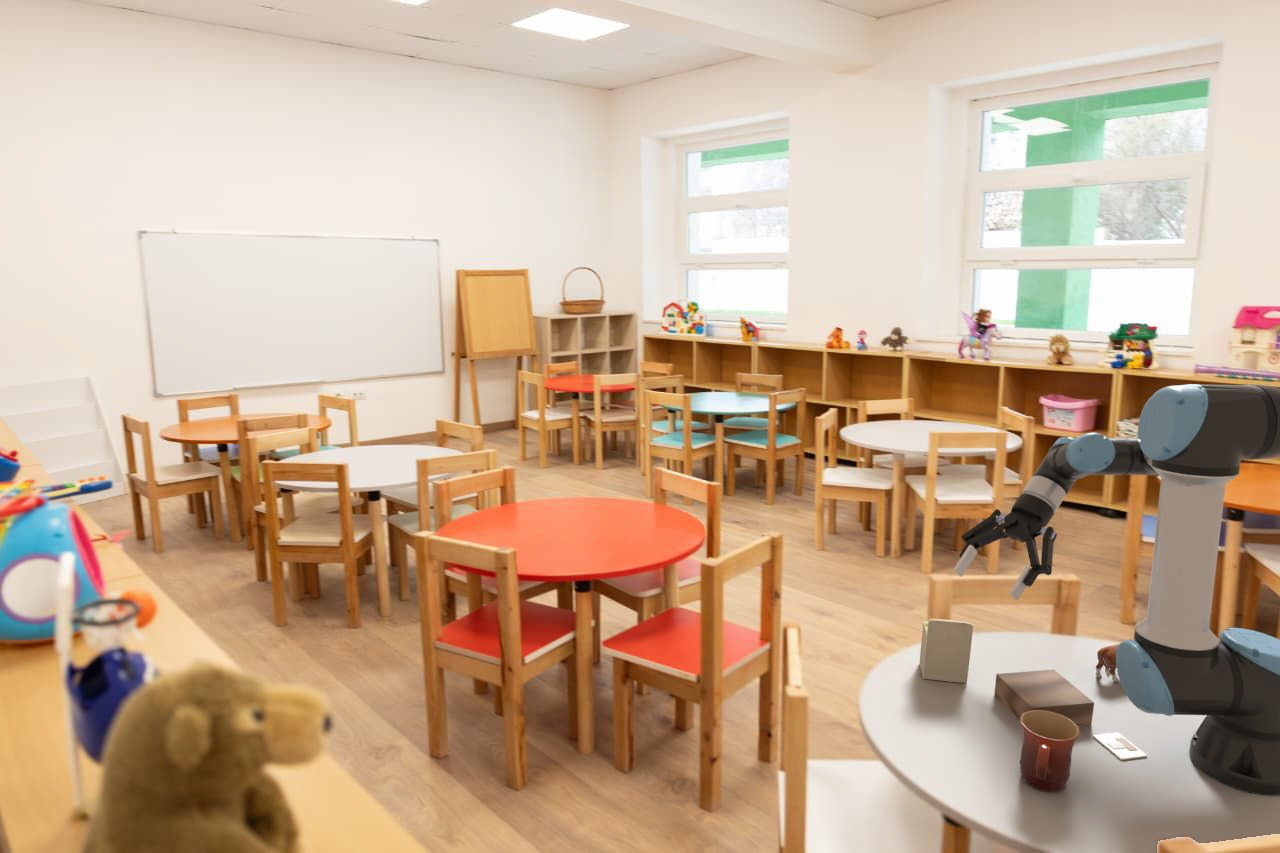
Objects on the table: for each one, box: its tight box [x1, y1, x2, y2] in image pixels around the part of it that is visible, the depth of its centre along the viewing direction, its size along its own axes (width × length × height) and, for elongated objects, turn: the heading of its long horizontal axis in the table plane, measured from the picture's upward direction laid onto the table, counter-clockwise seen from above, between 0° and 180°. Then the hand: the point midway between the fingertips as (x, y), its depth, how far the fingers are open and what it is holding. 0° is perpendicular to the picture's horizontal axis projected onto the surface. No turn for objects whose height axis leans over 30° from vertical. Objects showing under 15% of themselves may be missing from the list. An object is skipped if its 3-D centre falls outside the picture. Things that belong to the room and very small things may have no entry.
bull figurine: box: [1095, 638, 1134, 683], centre depth 171 cm, size 4×13×8 cm, turn 103°
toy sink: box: [919, 618, 974, 684], centre depth 172 cm, size 8×7×13 cm
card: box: [1092, 731, 1148, 761], centre depth 148 cm, size 7×5×1 cm
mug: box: [1019, 710, 1081, 793], centre depth 137 cm, size 12×9×10 cm
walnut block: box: [994, 669, 1095, 728], centre depth 159 cm, size 12×12×5 cm
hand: (984, 584), depth 175 cm, fingers open, 13 cm apart
